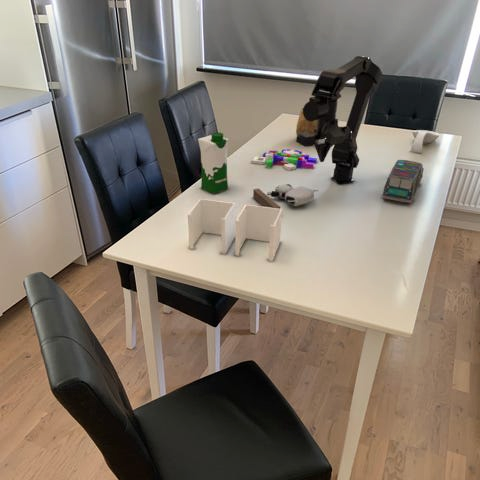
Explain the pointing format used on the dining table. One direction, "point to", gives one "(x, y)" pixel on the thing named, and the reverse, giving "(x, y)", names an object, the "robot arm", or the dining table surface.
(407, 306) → the dining table surface
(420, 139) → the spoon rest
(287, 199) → the robot toy
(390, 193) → the toy van
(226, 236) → the storage bins
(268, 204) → the walnut kerb
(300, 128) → the rough brown rock
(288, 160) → the building block set
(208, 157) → the milk carton
